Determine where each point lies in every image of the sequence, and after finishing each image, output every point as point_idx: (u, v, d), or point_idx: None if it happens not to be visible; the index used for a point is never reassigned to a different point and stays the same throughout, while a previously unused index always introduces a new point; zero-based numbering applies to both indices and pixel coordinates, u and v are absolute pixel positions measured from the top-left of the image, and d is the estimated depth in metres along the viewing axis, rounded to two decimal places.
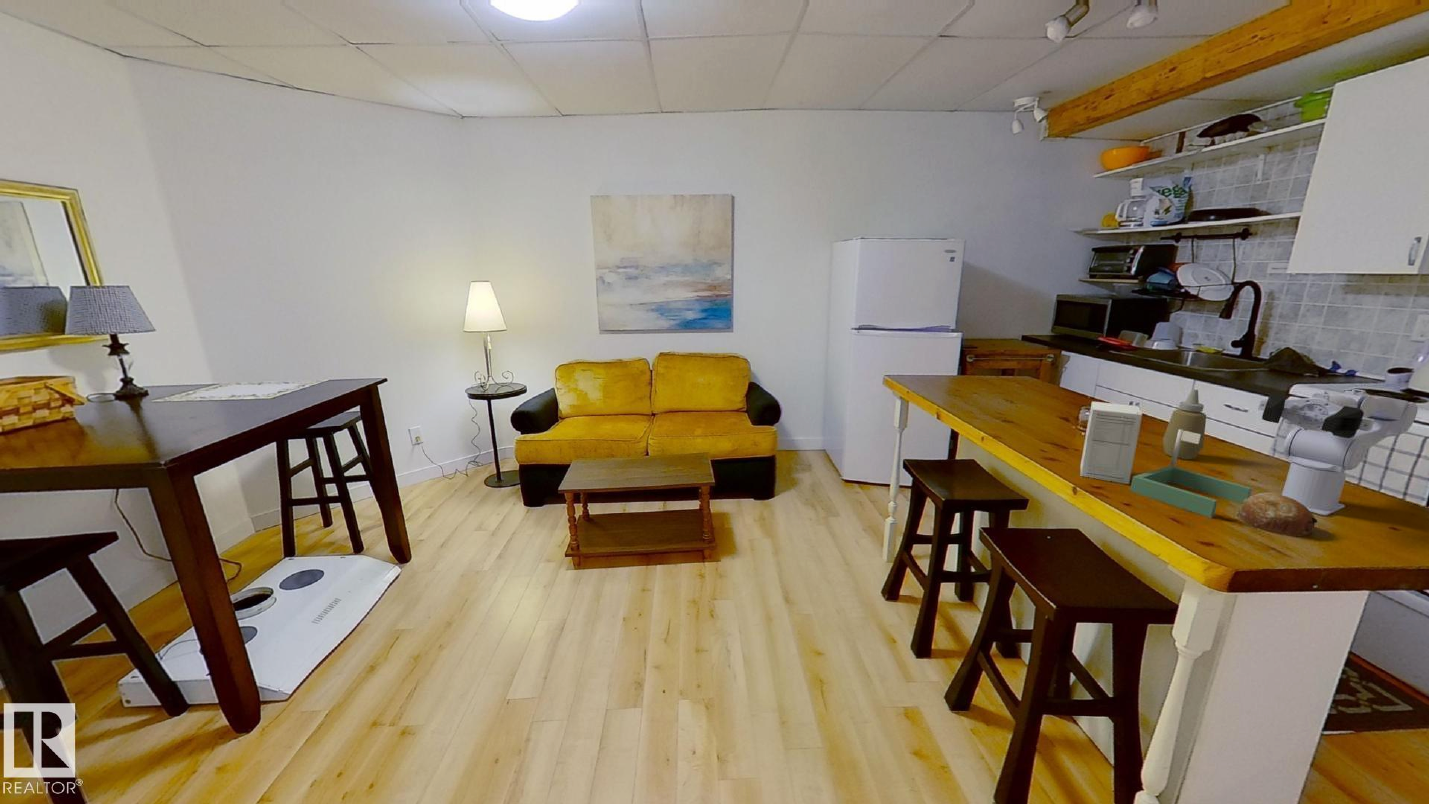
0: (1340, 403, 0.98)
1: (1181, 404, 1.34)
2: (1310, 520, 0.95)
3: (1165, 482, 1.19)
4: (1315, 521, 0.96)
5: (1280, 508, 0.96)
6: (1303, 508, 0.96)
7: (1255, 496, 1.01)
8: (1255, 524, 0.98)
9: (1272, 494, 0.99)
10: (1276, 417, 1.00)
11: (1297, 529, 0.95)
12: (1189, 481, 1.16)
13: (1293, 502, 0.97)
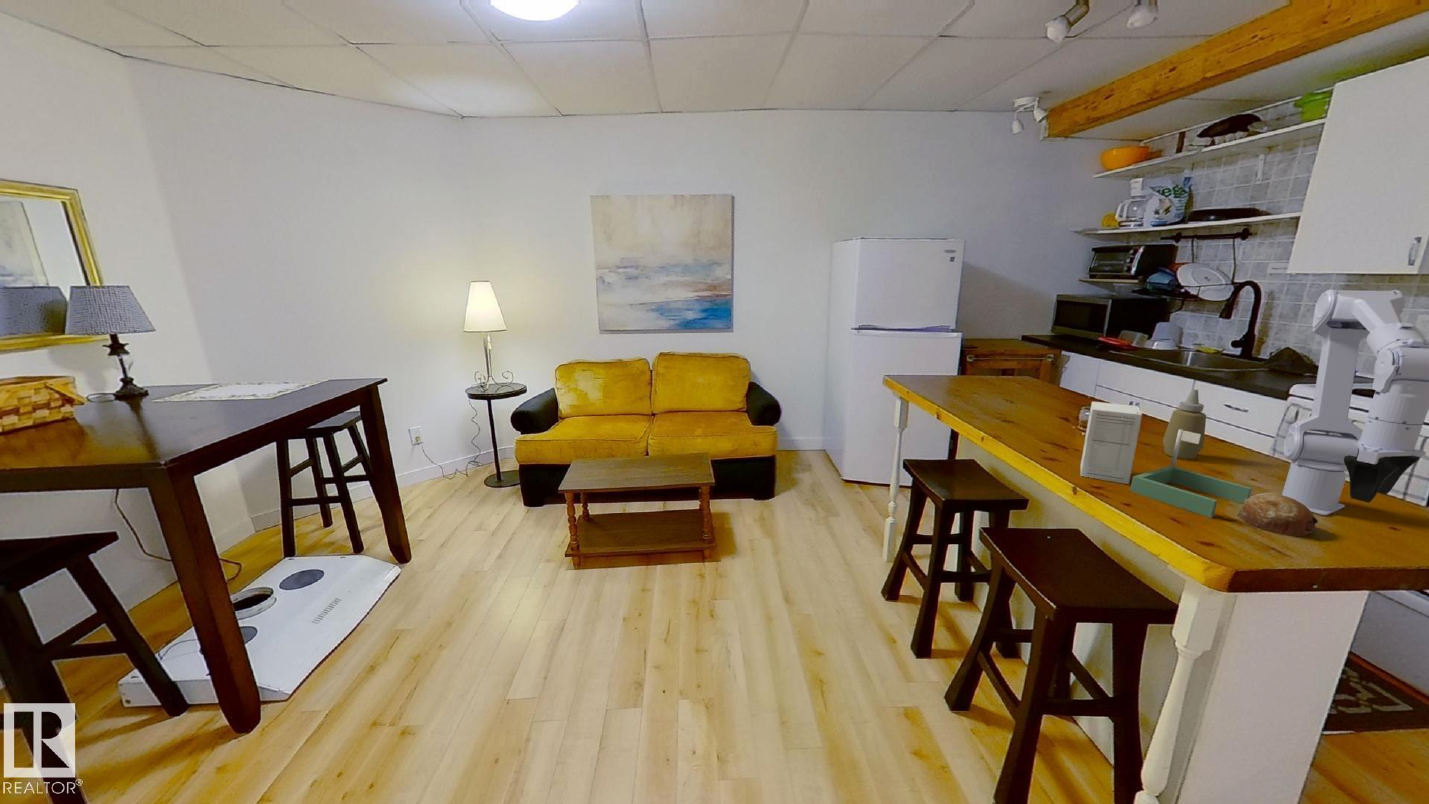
0: None
1: (1181, 404, 1.34)
2: (1311, 520, 0.95)
3: (1165, 482, 1.19)
4: (1316, 521, 0.96)
5: (1280, 508, 0.96)
6: (1304, 508, 0.96)
7: (1256, 496, 1.01)
8: (1256, 524, 0.98)
9: (1273, 494, 0.99)
10: None
11: (1298, 529, 0.95)
12: (1189, 481, 1.16)
13: (1293, 502, 0.97)
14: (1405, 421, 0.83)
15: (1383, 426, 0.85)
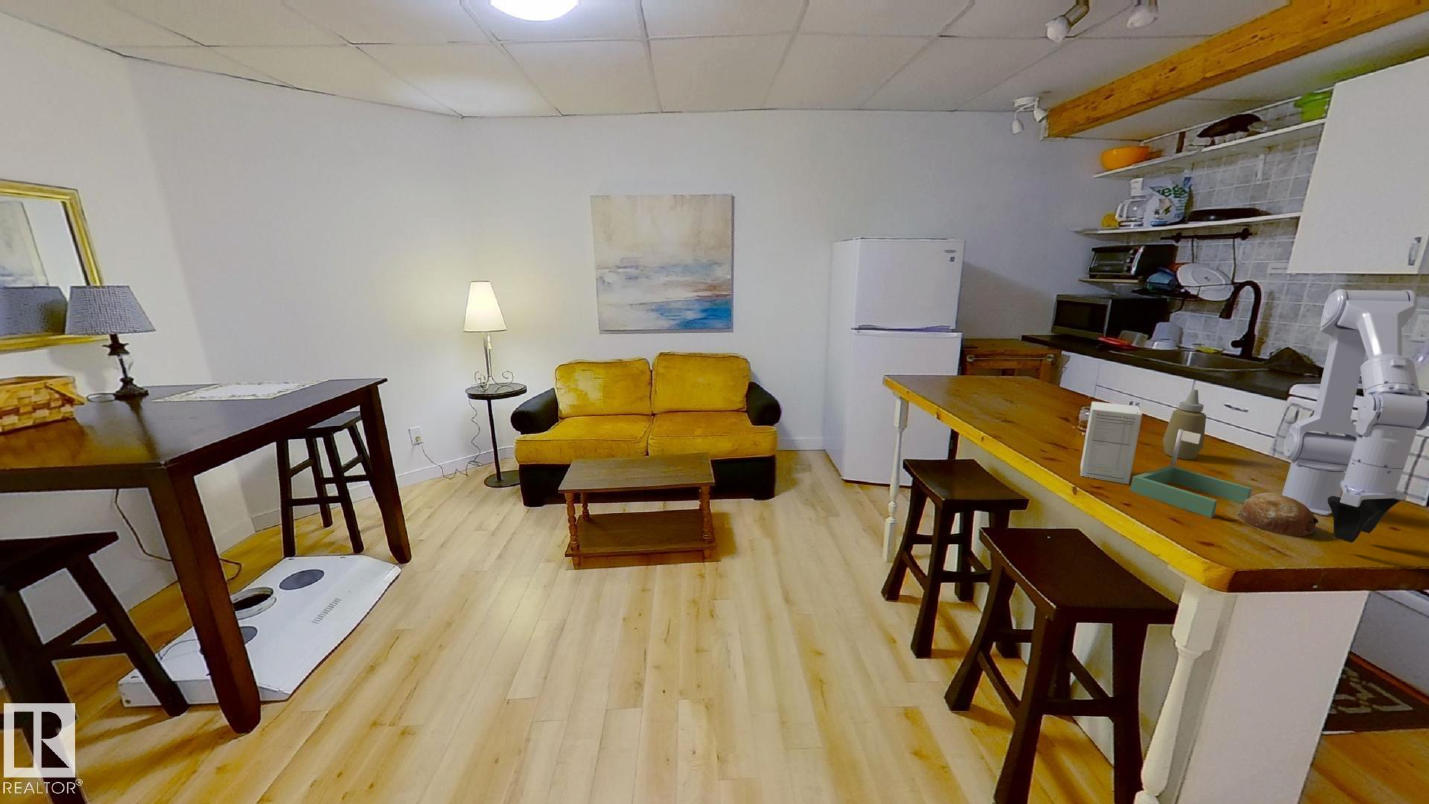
0: None
1: (1181, 404, 1.34)
2: (1311, 520, 0.95)
3: (1165, 482, 1.19)
4: (1316, 521, 0.96)
5: (1281, 508, 0.96)
6: (1304, 508, 0.96)
7: (1256, 496, 1.01)
8: (1256, 524, 0.98)
9: (1273, 494, 0.99)
10: None
11: (1298, 529, 0.95)
12: (1189, 481, 1.16)
13: (1294, 502, 0.96)
14: (1386, 465, 0.85)
15: (1365, 469, 0.87)
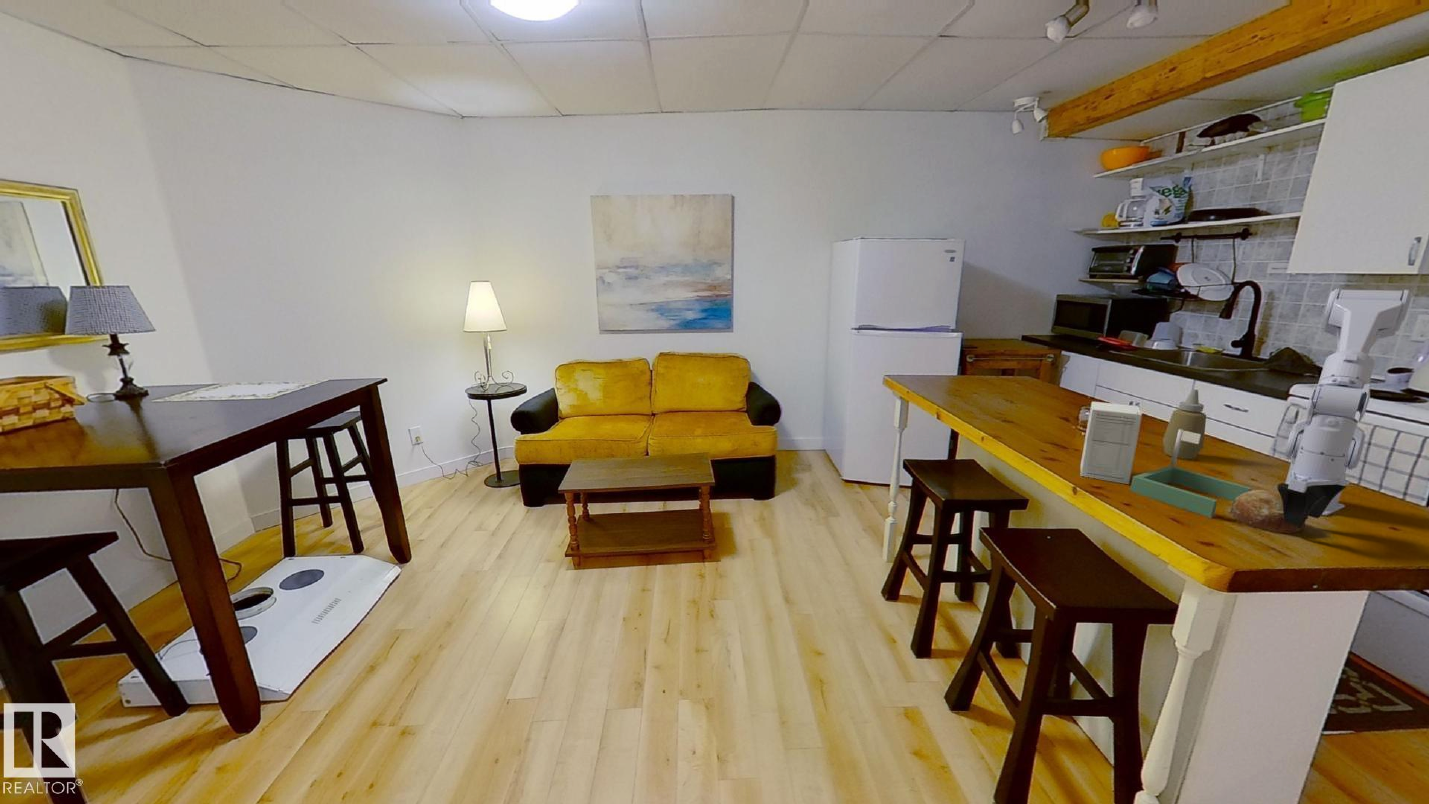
0: None
1: (1181, 404, 1.34)
2: None
3: (1165, 482, 1.19)
4: None
5: (1273, 506, 0.97)
6: None
7: (1247, 494, 1.01)
8: (1250, 522, 0.99)
9: (1264, 491, 1.00)
10: None
11: (1291, 526, 0.96)
12: (1189, 481, 1.16)
13: None
14: (1323, 452, 0.91)
15: (1312, 457, 0.92)
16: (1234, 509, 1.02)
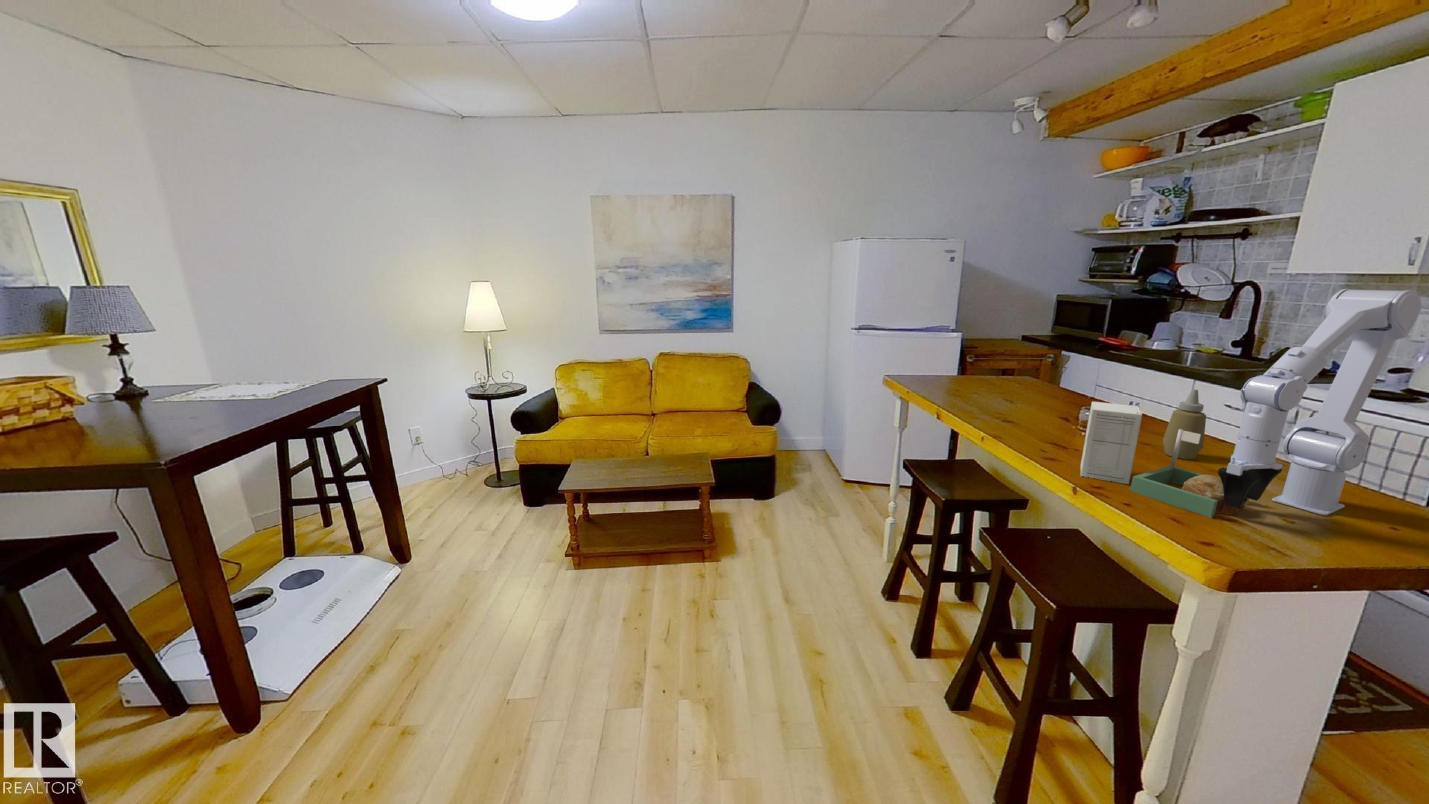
0: None
1: (1181, 404, 1.34)
2: None
3: (1165, 482, 1.19)
4: (1246, 499, 1.04)
5: (1216, 489, 1.05)
6: None
7: (1194, 478, 1.09)
8: None
9: (1208, 476, 1.07)
10: None
11: (1231, 507, 1.03)
12: None
13: None
14: (1249, 436, 1.00)
15: (1248, 443, 1.00)
16: None
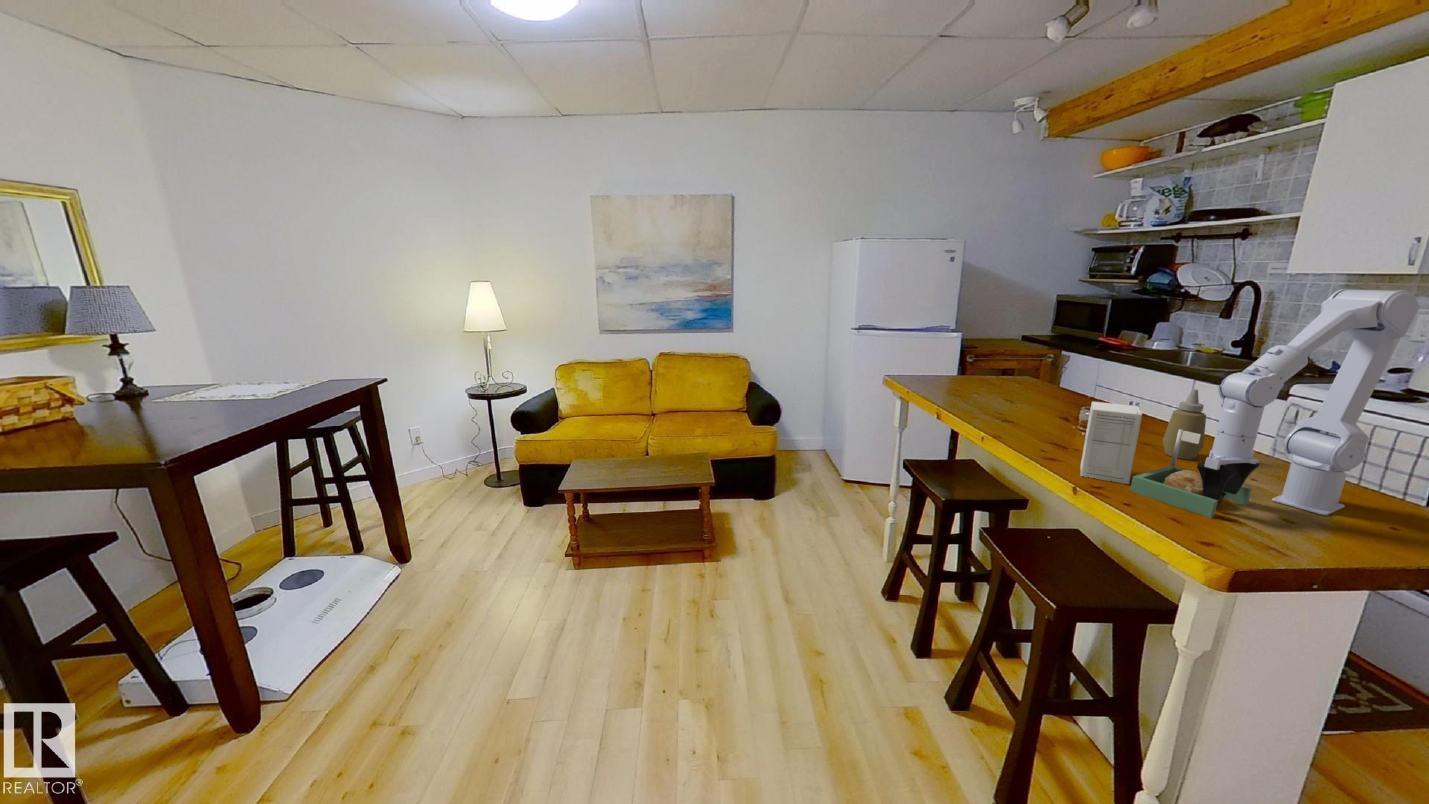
0: None
1: (1181, 404, 1.34)
2: None
3: None
4: (1224, 494, 1.07)
5: (1195, 484, 1.08)
6: None
7: (1174, 474, 1.12)
8: None
9: (1188, 471, 1.10)
10: None
11: None
12: None
13: None
14: (1224, 431, 1.03)
15: (1226, 438, 1.03)
16: None
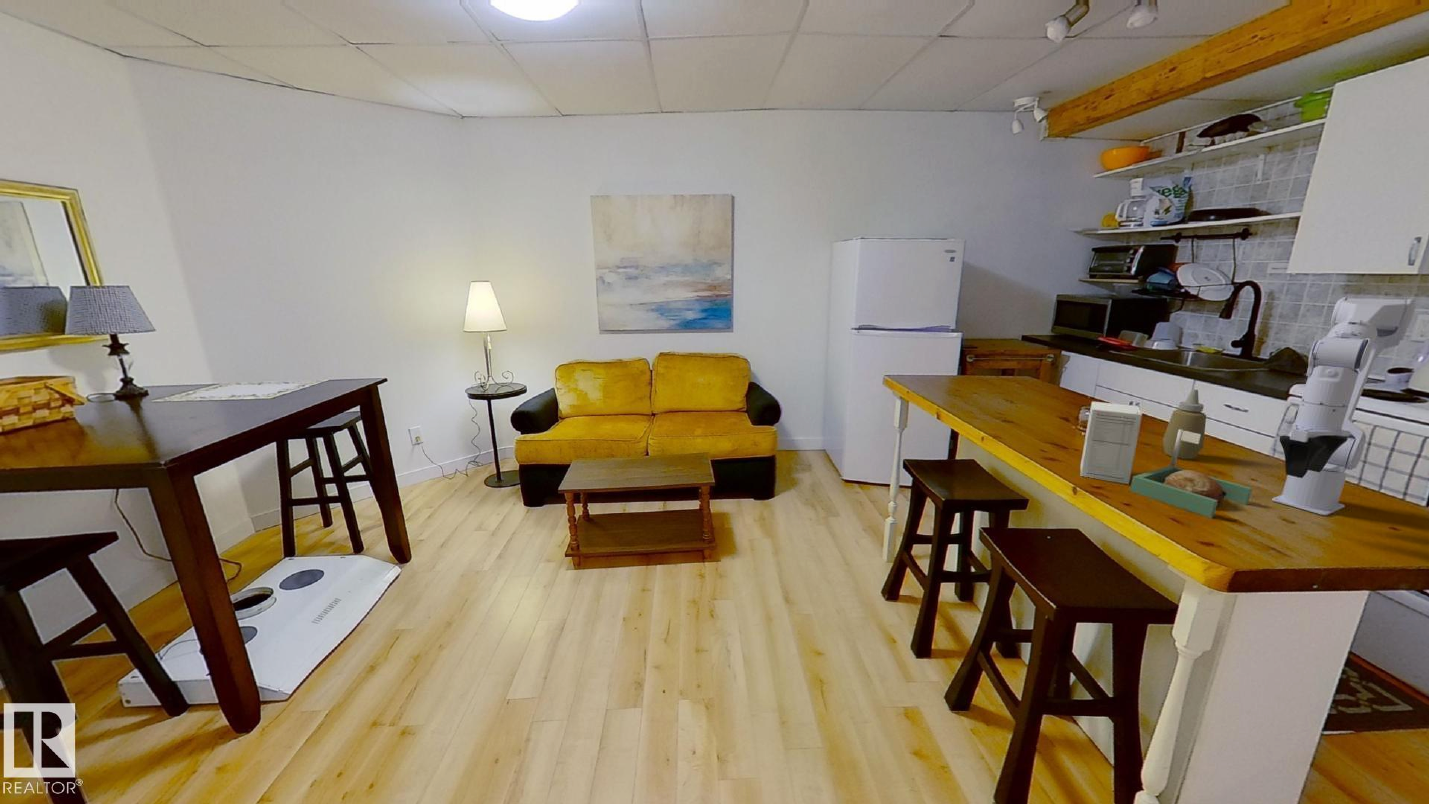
0: None
1: (1181, 404, 1.34)
2: (1221, 493, 1.07)
3: None
4: (1225, 494, 1.07)
5: (1196, 484, 1.07)
6: (1215, 483, 1.07)
7: (1175, 474, 1.12)
8: None
9: (1189, 471, 1.10)
10: None
11: None
12: None
13: (1206, 478, 1.08)
14: (1322, 402, 0.93)
15: (1313, 408, 0.94)
16: None
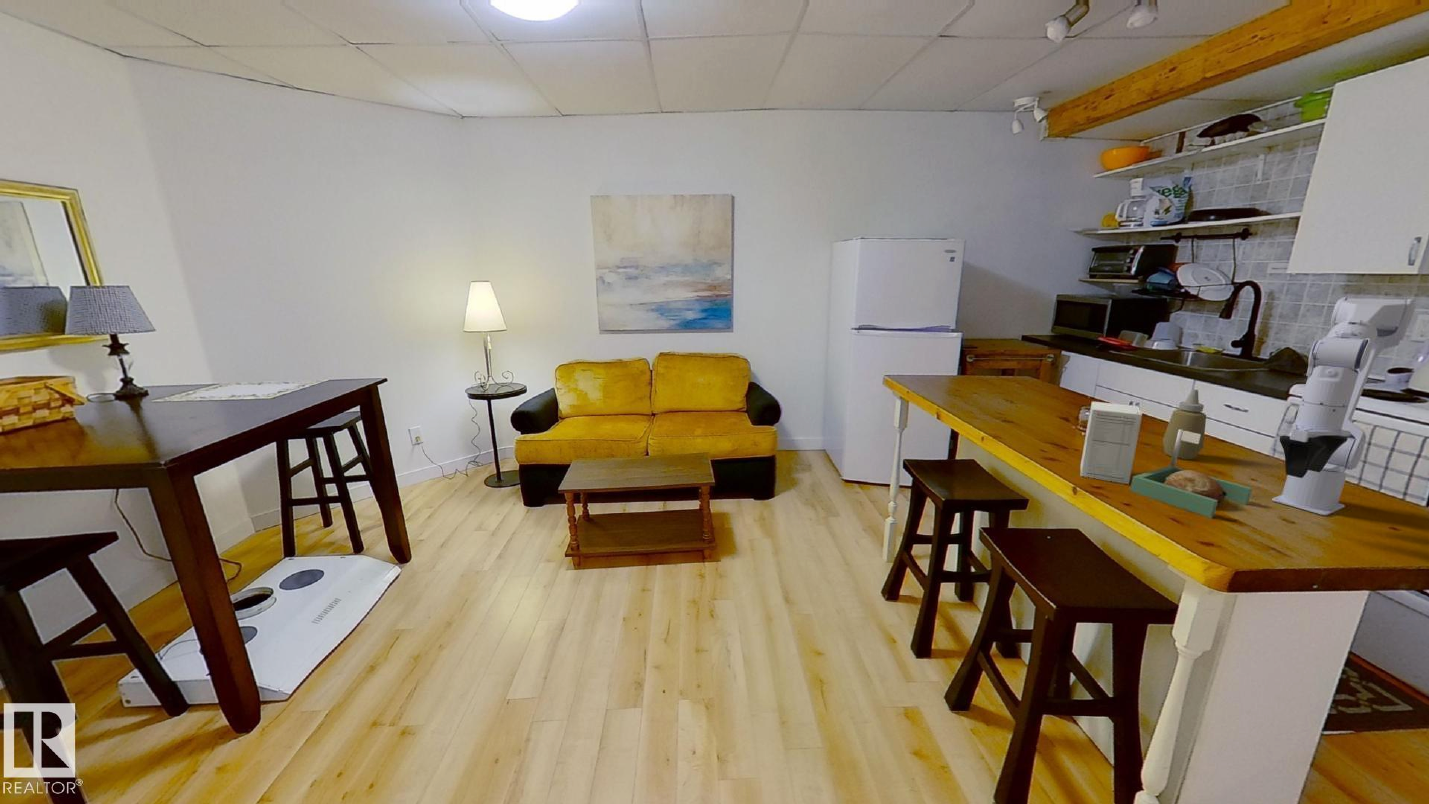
0: None
1: (1181, 404, 1.34)
2: (1221, 493, 1.07)
3: None
4: (1225, 494, 1.07)
5: (1196, 484, 1.07)
6: (1215, 483, 1.07)
7: (1175, 474, 1.12)
8: None
9: (1189, 471, 1.10)
10: None
11: None
12: None
13: (1207, 478, 1.08)
14: (1322, 402, 0.93)
15: (1313, 408, 0.94)
16: None
